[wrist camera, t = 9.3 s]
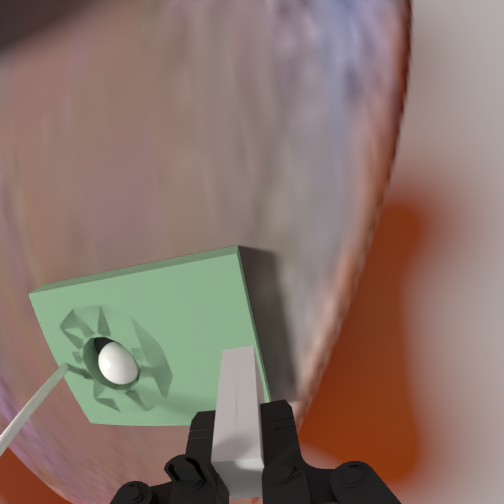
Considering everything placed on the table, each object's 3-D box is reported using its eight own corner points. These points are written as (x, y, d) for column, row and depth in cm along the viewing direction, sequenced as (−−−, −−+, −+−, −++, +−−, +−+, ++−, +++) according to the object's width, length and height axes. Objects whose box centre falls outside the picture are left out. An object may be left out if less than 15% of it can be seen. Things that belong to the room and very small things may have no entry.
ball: (100, 388, 20) (131, 395, 19) (83, 352, 20) (114, 356, 18) (124, 367, 24) (154, 371, 23) (110, 332, 23) (140, 334, 22)
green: (81, 407, 25) (16, 515, 9) (27, 288, 22) (-97, 369, 6) (271, 397, 24) (287, 568, 8) (238, 245, 21) (209, 420, 5)
